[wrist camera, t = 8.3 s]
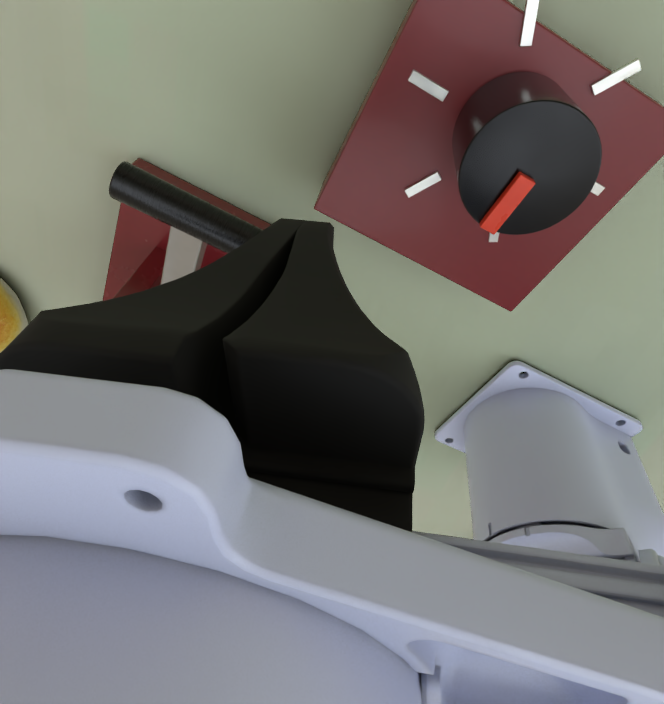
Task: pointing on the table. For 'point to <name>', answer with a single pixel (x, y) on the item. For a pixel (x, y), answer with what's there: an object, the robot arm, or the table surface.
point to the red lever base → (154, 240)
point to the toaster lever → (180, 219)
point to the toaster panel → (437, 155)
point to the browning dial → (524, 154)
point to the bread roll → (10, 316)
